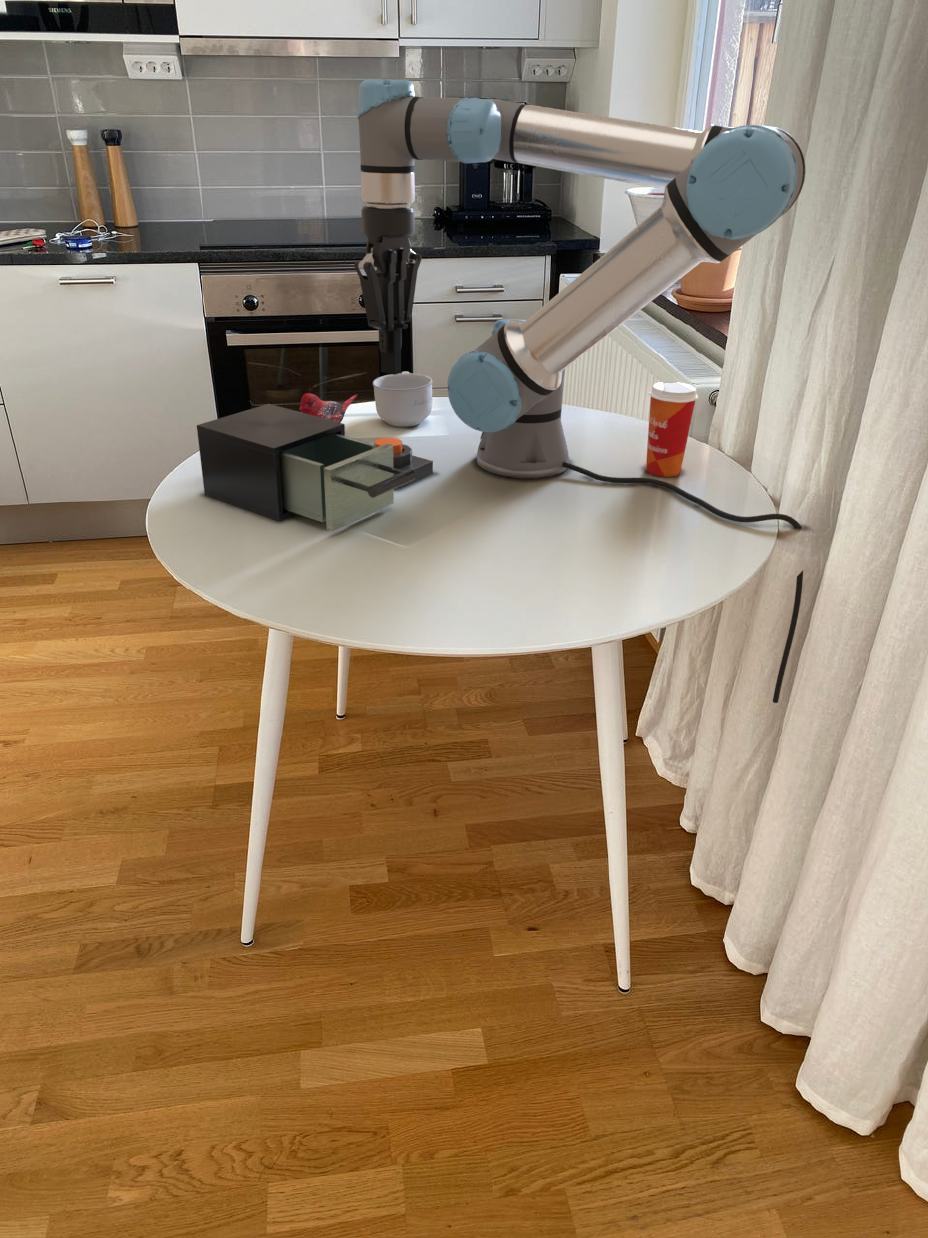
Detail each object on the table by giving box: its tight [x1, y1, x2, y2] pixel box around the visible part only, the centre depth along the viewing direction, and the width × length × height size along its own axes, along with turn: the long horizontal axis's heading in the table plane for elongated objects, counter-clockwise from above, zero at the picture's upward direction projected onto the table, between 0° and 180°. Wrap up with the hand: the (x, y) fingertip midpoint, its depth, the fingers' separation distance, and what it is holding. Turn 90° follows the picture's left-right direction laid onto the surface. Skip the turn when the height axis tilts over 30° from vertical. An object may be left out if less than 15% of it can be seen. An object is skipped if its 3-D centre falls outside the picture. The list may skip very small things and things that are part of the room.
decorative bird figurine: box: [298, 392, 358, 423], centre depth 161 cm, size 3×18×10 cm, turn 154°
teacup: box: [372, 371, 433, 428], centre depth 174 cm, size 14×11×8 cm
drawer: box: [279, 433, 416, 532], centre depth 132 cm, size 21×13×9 cm, turn 54°
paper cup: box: [645, 381, 699, 478], centre depth 151 cm, size 8×8×14 cm
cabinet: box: [196, 403, 346, 522], centre depth 139 cm, size 16×14×11 cm
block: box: [393, 443, 434, 490], centre depth 149 cm, size 11×9×4 cm
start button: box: [373, 436, 403, 455], centre depth 148 cm, size 4×4×2 cm
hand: (391, 372), depth 144 cm, fingers closed
